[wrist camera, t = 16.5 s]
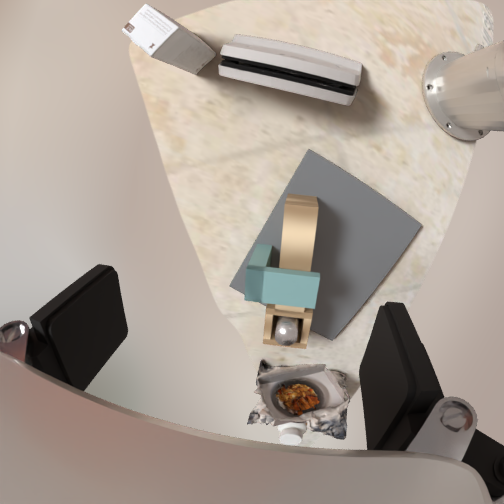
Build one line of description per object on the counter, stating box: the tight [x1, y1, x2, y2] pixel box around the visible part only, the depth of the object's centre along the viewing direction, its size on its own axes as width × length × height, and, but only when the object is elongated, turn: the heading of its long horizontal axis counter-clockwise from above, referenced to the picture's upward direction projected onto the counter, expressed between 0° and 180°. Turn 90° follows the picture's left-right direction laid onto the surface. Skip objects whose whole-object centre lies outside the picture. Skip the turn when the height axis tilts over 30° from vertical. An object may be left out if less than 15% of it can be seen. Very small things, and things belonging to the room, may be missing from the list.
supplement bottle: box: [277, 422, 307, 445], centre depth 48 cm, size 5×5×10 cm
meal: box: [247, 360, 350, 439], centre depth 43 cm, size 15×4×13 cm, turn 88°
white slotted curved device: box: [218, 34, 362, 106], centre depth 28 cm, size 17×5×10 cm, turn 76°
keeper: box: [245, 244, 320, 309], centre depth 37 cm, size 4×8×8 cm, turn 87°
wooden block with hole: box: [263, 193, 319, 349], centre depth 38 cm, size 19×6×6 cm, turn 177°
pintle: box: [275, 316, 299, 346], centre depth 39 cm, size 3×3×8 cm
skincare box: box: [122, 4, 216, 74], centre depth 27 cm, size 6×4×12 cm
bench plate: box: [230, 149, 421, 340], centre depth 40 cm, size 22×18×1 cm
